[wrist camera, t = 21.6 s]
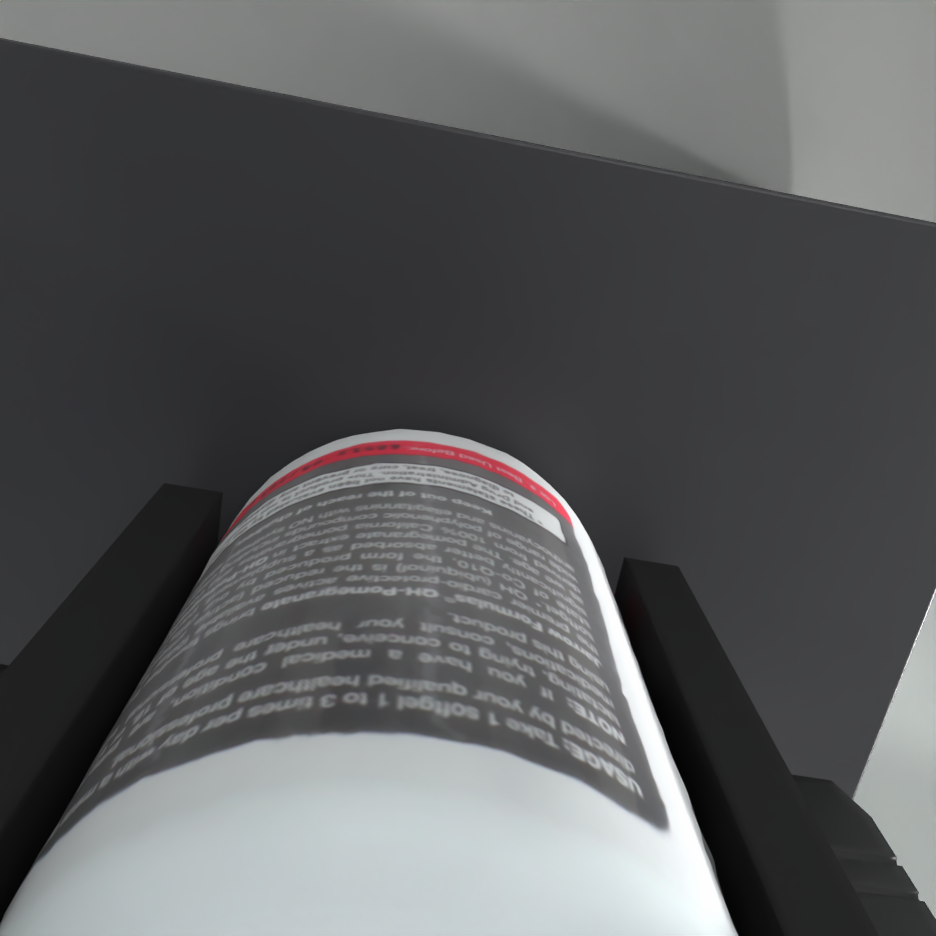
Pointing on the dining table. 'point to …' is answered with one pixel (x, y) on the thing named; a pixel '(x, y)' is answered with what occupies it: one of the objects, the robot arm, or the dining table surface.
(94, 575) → the robot arm
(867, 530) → the grey drawer box
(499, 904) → the pill bottle
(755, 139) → the dining table surface
